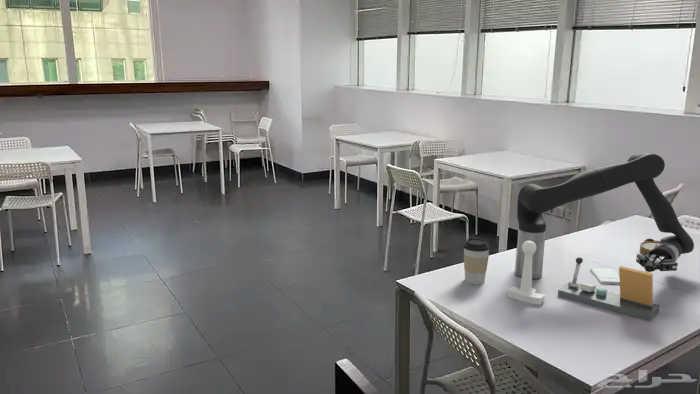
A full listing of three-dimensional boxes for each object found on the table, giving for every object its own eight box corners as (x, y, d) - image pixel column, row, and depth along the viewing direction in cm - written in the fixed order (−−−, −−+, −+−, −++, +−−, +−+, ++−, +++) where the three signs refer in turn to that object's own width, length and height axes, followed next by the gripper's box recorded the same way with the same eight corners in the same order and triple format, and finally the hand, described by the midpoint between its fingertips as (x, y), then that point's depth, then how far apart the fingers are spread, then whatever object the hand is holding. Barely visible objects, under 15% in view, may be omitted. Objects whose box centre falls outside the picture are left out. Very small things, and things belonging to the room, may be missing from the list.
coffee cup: (492, 280, 196) (495, 240, 193) (479, 287, 190) (481, 246, 186) (470, 274, 202) (472, 234, 199) (456, 281, 196) (458, 240, 192)
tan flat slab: (619, 301, 174) (618, 268, 167) (621, 298, 175) (620, 265, 168) (651, 310, 168) (651, 276, 161) (653, 306, 169) (653, 272, 162)
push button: (594, 294, 178) (595, 290, 178) (598, 292, 180) (598, 287, 180) (604, 297, 176) (604, 292, 176) (607, 294, 178) (608, 290, 178)
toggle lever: (567, 286, 184) (574, 256, 184) (569, 286, 186) (576, 256, 186) (576, 288, 182) (583, 258, 182) (578, 289, 184) (585, 258, 184)
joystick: (506, 296, 182) (510, 239, 178) (516, 289, 188) (520, 233, 183) (539, 306, 175) (544, 246, 171) (548, 298, 181) (553, 240, 176)
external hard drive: (612, 273, 204) (625, 286, 192) (589, 272, 205) (600, 285, 193) (613, 269, 204) (625, 281, 192) (590, 268, 205) (601, 280, 193)
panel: (557, 295, 183) (558, 289, 183) (569, 286, 190) (570, 281, 190) (649, 321, 165) (650, 315, 164) (659, 310, 172) (660, 304, 171)
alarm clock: (638, 248, 220) (644, 233, 231) (636, 259, 222) (643, 243, 233) (670, 254, 214) (674, 237, 225) (668, 265, 216) (673, 248, 227)
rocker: (579, 289, 181) (580, 283, 181) (584, 287, 184) (584, 282, 184) (590, 292, 178) (591, 286, 178) (595, 290, 182) (596, 285, 181)
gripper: (644, 241, 192) (627, 252, 180) (687, 249, 183) (673, 263, 171) (641, 261, 194) (625, 274, 182) (683, 271, 185) (669, 285, 173)
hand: (648, 268), depth 176 cm, fingers closed
